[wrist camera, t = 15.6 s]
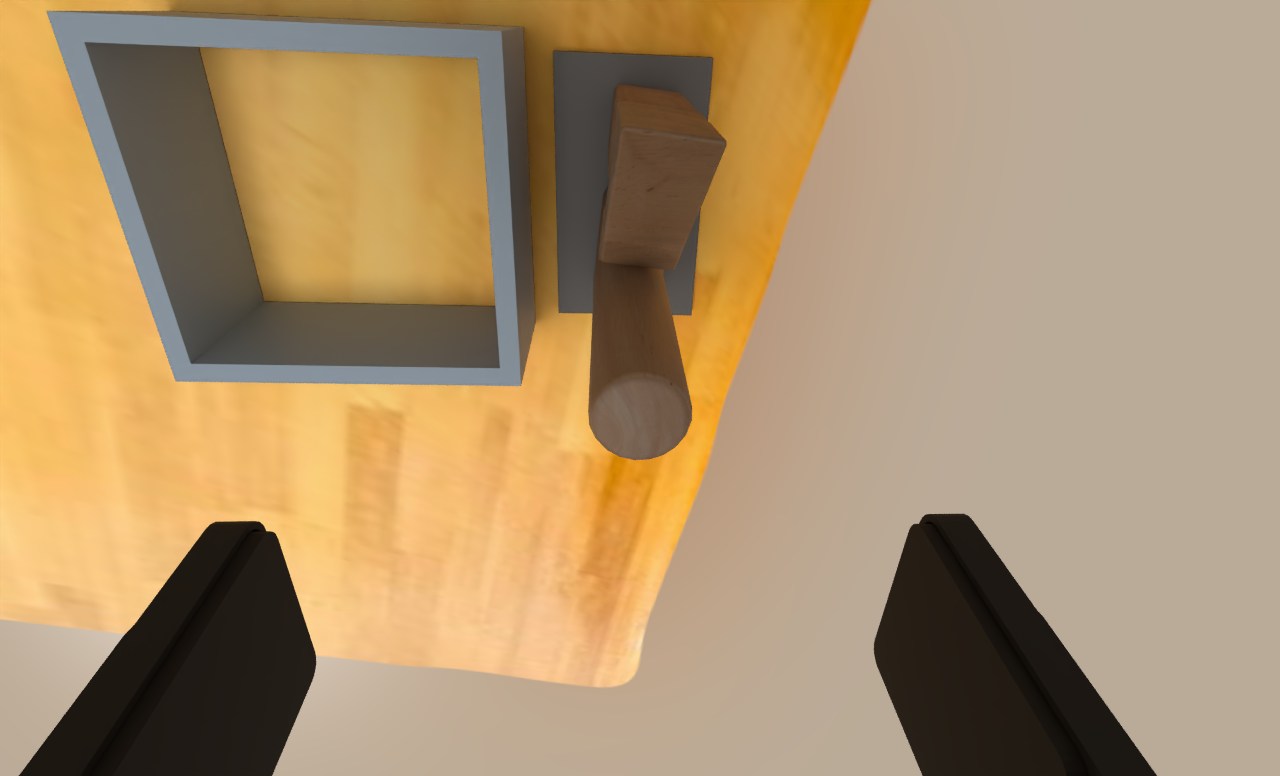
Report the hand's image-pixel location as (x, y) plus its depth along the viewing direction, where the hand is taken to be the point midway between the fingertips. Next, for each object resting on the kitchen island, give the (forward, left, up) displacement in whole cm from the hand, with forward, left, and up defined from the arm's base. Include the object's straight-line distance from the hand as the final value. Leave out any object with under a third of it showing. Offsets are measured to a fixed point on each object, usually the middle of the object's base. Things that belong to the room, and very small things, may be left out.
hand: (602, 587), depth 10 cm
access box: (+1, -13, -31) cm, 33 cm away
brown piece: (+1, +2, -30) cm, 30 cm away
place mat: (+1, +1, -31) cm, 31 cm away
